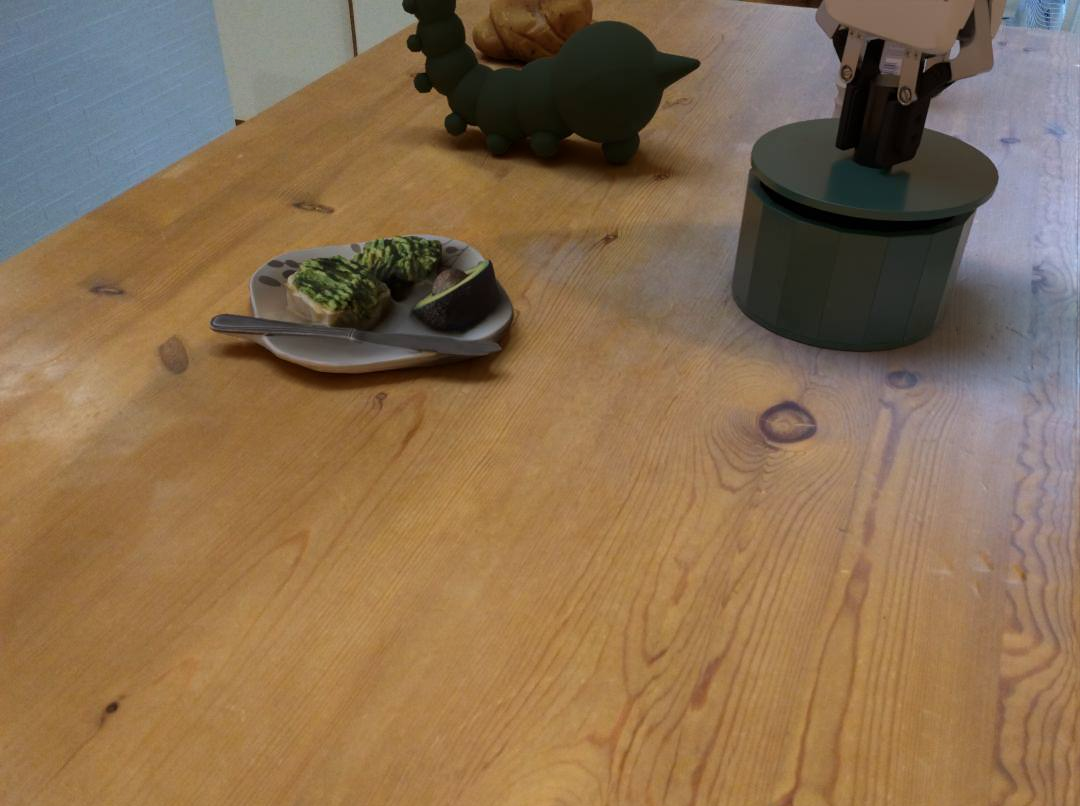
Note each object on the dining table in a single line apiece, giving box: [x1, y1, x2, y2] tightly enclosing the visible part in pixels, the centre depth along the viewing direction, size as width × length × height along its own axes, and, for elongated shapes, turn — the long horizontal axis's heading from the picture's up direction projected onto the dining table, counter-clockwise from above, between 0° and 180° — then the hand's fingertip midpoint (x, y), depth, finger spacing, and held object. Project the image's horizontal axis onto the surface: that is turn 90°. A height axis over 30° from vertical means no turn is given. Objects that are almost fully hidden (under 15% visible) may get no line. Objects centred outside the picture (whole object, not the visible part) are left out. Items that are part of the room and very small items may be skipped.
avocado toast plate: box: [209, 233, 515, 374], centre depth 69 cm, size 19×18×5 cm
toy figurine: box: [401, 0, 701, 165], centre depth 88 cm, size 9×19×25 cm
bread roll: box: [471, 0, 594, 63], centre depth 112 cm, size 13×10×8 cm
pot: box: [731, 167, 978, 352], centre depth 72 cm, size 15×15×8 cm
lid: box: [749, 74, 1000, 221], centre depth 67 cm, size 16×16×6 cm
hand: (874, 151), depth 68 cm, fingers closed on lid, 2 cm apart
